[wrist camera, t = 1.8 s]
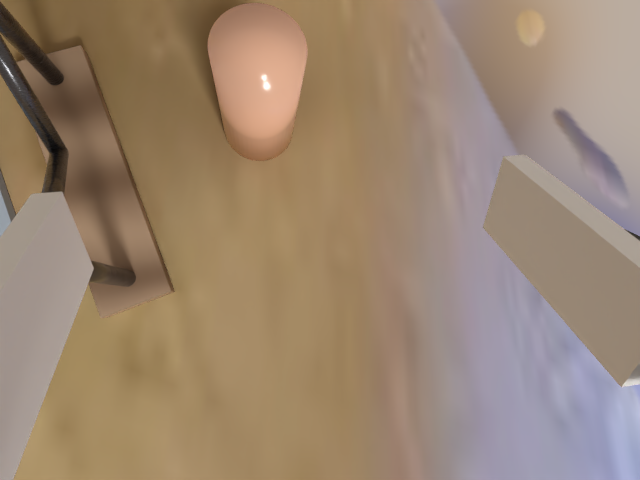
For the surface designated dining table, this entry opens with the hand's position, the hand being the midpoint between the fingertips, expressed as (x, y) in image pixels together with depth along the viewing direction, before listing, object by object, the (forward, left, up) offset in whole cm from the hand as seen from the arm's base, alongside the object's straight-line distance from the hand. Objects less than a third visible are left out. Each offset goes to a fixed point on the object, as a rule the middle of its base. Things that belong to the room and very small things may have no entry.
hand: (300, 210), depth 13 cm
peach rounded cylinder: (-11, +3, -20) cm, 23 cm away
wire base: (-11, -10, -20) cm, 25 cm away
